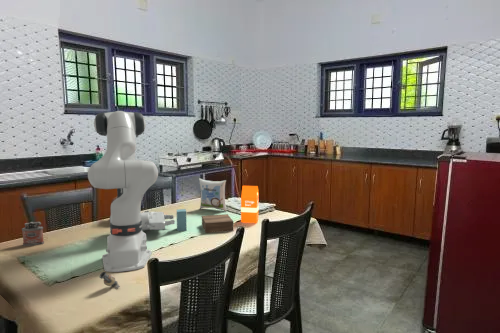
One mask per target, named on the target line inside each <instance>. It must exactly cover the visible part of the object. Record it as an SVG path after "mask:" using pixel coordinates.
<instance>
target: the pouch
mask: <svg viewBox="0 0 500 333" xmlns="http://www.w3.org/2000/svg"><path fill="white" fill-rule="evenodd" d="M198 181H199V188H200V206H199V209H200V210H201V209H205V208H207V209H208V208H209V209H211V208H212V209H217V210H221V211H224V212H226V211H228V210H227V207H226V195H225V194H226V184H227V183H226V182H227V180H226V179H225V180H221V181H218V180H217V181H213V180H208V179H207V180H206V179H203V178H200V177H199V178H198Z"/></svg>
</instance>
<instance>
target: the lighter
mask: <svg viewBox="0 0 500 333" xmlns="http://www.w3.org/2000/svg"><path fill="white" fill-rule="evenodd" d="M41 225H42V222H41V221H30V222H26V223H24V226H25V227H23V228H21V231H22V241H23V242H22V246H23V247H25V246H26V247H29V246H31V247H32V246H41V245H43V244H45V241H44V231H43V230H44V227H43V226H41Z"/></svg>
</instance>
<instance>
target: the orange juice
mask: <svg viewBox="0 0 500 333" xmlns="http://www.w3.org/2000/svg"><path fill="white" fill-rule="evenodd" d="M259 195H260V193H259V186H258V185H242V189H241V196H240V223H244V224H247V223H248V224H257V223H258V221H259V201H260V200H259V197H260V196H259Z"/></svg>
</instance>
